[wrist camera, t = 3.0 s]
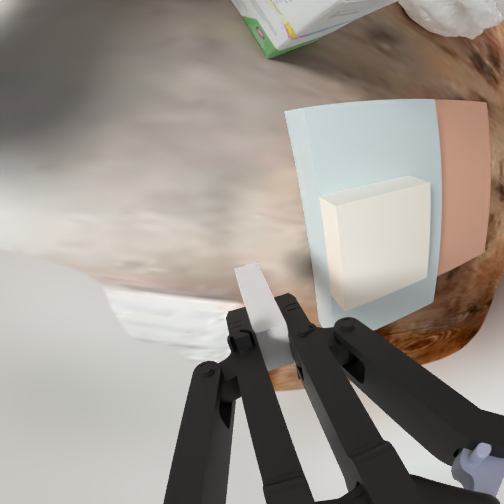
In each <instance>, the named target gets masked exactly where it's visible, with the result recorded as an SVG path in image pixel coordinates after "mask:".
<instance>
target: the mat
mask: <svg viewBox="0 0 504 504" xmlns="http://www.w3.org/2000/svg"><path fill="white" fill-rule="evenodd" d="M435 105H436V112H437V120H438V129H439V139H440V152H441V171H442V220H441V239H440V252H439V262H438V272H437V276H439V275H442V274H444V273H446V272H448V271H450V270H452V269H454V268H456V267H458V266H460V265H461V264H463V263H465V262H467V261H469V260H471V259H473V258H475V257H477V256H479V255H480V254H482V253H484V251H485V244H486V237H487V228H488V218H489V206H490V186H491V152H490V133H489V120H488V111H487V103H486V102H478V101H464V100H443V99H435Z"/></svg>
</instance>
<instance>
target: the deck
mask: <svg viewBox="0 0 504 504" xmlns="http://www.w3.org/2000/svg"><path fill="white" fill-rule="evenodd" d="M284 113H285V118H286V122H287V127H288V132H289V136H290V141H291V146H292V151H293V156H294V161H295V167H296V172H297V177H298V183H299V188H300V194H301V199H302V205H303V211H304V217H305V223H306V230H307V236H308V243H309V249H310V256H311V263H312V270H313V278H314V285H315V293H316V301H317V310H318V319H319V323H320V324H321V326H322V327H323V328H329V327H334V324H335V322H336V321H338V320H339V319H341V318H344V317H352V318H355V319H358V320H359V321H360V322H362V323H363V324H364V325H366V326H367V327H369V328H370V329H371V330H373V331H374V330H376V329H378V328H380V327H383V326H385V325H387V324H389V323H392V322H394V321H396V320H398V319H400V318H402V317H404V316H407V315H409V314H411V313H413V312H415V311H417V310H419V309H421V308H423V307H425V306H427V305H429V304H431V303H433V300H434V294H435V287H436V280H437V272H438V262H439V252H440V239H441V220H442V171H441V152H440V139H439V129H438V120H437V112H436V105H435V99H390V100H371V101H358V102H347V103H337V104H328V105H320V106H312V107H305V108H299V109H294V110H289V111H284ZM404 176H412V177H416V178H419V179H422V180H425V181H428V182H430V192H431V216H430V243H429V258H428V269H427V278H424V279H422V280H420V281H418V282H416V283H413V284H411V285H409V286H407V287H404V288H402V289H400V290H397V291H395V292H393V293H390V294H388V295H385V296H383V297H381V298H378V299H376V300H373V301H371V302H368V303H366V304H363V305H361V306H358V307H356V308H353V309H350V310H348V311H344V310H343V309H342V308H341V306H340V305H339V304H338V303H337V301H336V300H335V299H334V298H333V296H332V295H331V290H330V279H329V270H328V260H327V251H326V243H325V235H324V227H323V220H322V213H321V206H320V199H319V196H323V195H327V194H331V193H336V192H340V191H344V190H348V189H352V188H356V187H360V186H365V185H369V184H373V183H378V182H382V181H386V180H391V179H395V178H400V177H404Z"/></svg>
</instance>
